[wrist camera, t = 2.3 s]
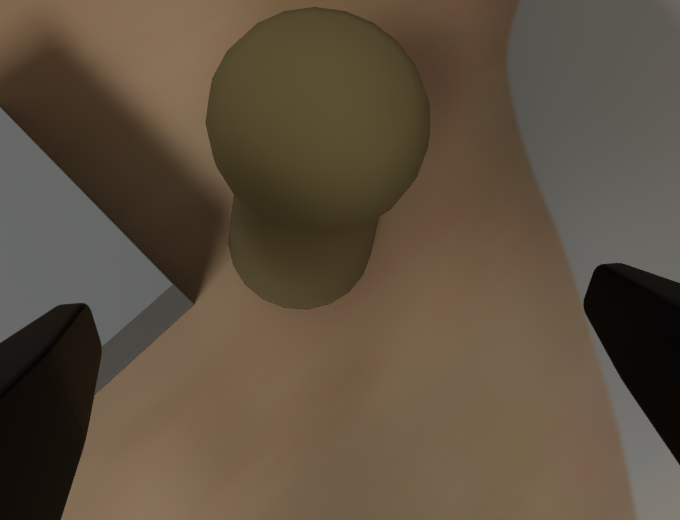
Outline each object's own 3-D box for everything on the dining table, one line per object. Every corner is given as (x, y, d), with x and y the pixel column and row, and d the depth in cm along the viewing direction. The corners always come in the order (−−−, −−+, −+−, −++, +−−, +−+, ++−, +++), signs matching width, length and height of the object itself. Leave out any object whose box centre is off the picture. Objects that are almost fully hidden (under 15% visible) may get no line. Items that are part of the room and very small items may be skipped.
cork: (382, 191, 21) (486, 1, 11) (356, 324, 20) (448, 254, 9) (249, 158, 21) (220, -74, 10) (210, 291, 19) (129, 177, 9)
